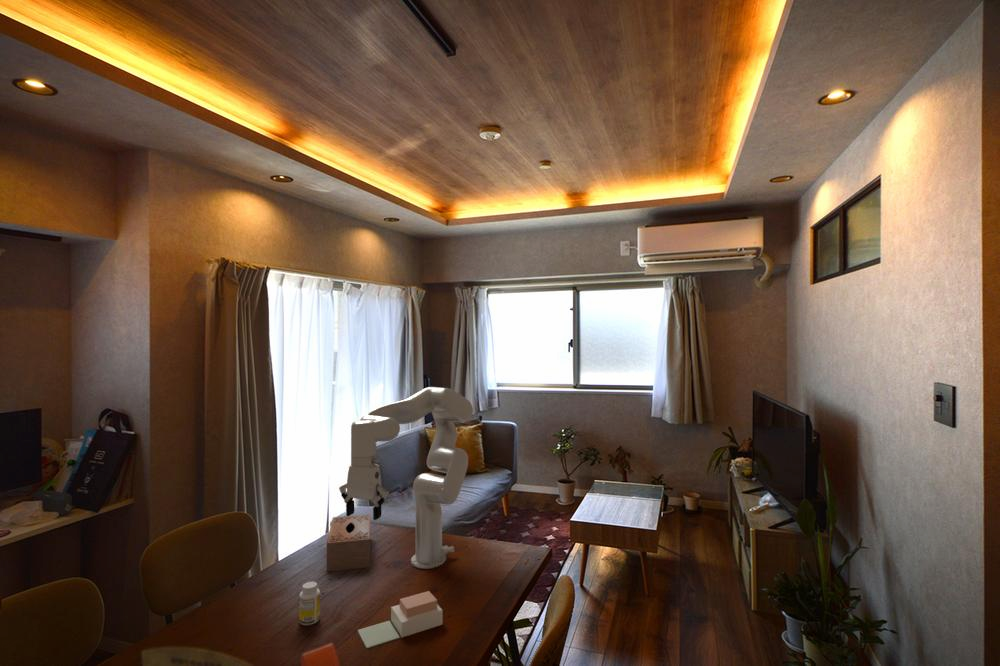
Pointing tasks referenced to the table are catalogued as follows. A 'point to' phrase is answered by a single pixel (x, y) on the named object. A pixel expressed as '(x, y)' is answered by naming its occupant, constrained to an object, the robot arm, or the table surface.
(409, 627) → the white rectangular block
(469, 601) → the table surface
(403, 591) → the table surface
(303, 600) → the supplement bottle
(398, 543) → the table surface
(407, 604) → the pink rectangular block
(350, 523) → the tissue box cover
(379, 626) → the mat
